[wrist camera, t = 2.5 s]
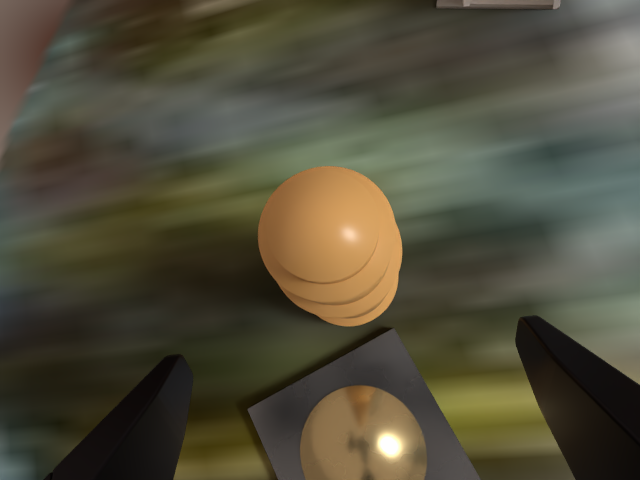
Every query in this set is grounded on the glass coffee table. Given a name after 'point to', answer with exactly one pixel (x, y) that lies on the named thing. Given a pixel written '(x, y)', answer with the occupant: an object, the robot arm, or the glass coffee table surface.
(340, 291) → the tan bulged column
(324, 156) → the glass coffee table surface
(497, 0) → the white water bottle
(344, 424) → the plate
